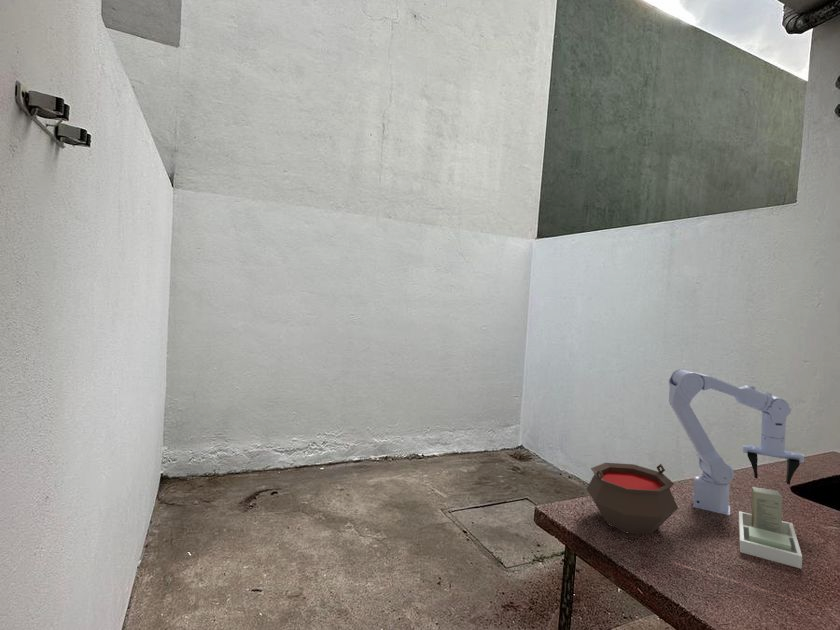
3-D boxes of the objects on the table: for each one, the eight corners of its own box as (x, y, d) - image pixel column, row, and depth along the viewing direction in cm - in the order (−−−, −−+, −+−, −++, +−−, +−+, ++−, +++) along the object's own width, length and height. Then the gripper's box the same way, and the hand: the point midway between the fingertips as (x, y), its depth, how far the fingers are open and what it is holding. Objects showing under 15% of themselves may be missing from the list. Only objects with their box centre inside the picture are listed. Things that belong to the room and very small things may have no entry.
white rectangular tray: (739, 553, 113) (740, 540, 113) (738, 522, 130) (738, 511, 130) (801, 570, 106) (802, 556, 106) (791, 535, 123) (792, 523, 123)
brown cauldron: (623, 550, 114) (625, 486, 114) (568, 508, 137) (570, 455, 137) (698, 538, 121) (700, 478, 120) (633, 500, 144) (635, 450, 143)
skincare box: (778, 534, 122) (780, 490, 122) (782, 541, 119) (783, 496, 118) (749, 528, 126) (751, 485, 125) (752, 535, 122) (753, 491, 121)
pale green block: (748, 550, 114) (749, 535, 114) (748, 540, 119) (748, 526, 119) (790, 561, 109) (791, 546, 109) (787, 550, 114) (788, 535, 114)
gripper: (802, 437, 134) (801, 481, 135) (743, 428, 143) (741, 470, 143) (805, 442, 129) (804, 489, 129) (743, 434, 137) (742, 477, 137)
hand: (771, 480), depth 136 cm, fingers open, 7 cm apart
